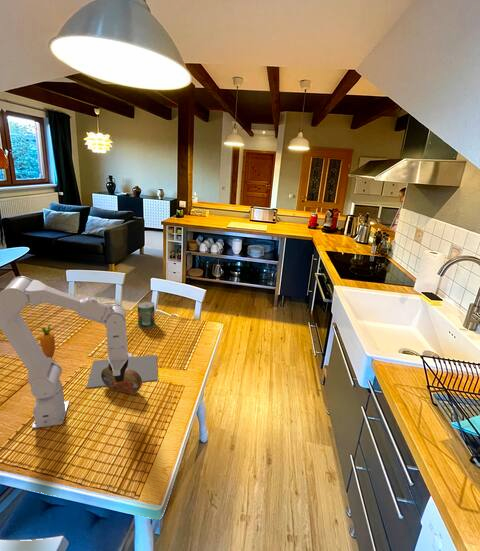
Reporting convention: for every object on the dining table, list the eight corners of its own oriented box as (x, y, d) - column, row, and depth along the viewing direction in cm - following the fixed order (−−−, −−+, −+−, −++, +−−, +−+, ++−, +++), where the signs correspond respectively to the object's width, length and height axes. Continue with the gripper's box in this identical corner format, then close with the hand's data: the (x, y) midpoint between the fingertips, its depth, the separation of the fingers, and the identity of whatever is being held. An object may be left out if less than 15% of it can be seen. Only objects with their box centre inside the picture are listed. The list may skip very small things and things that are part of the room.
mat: (157, 380, 114) (157, 379, 114) (86, 388, 108) (86, 387, 107) (156, 355, 129) (156, 354, 129) (93, 361, 122) (93, 360, 122)
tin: (101, 385, 109) (99, 365, 106) (107, 379, 112) (105, 360, 109) (138, 397, 105) (137, 377, 102) (143, 391, 108) (143, 371, 105)
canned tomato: (135, 323, 152) (134, 303, 148) (150, 319, 157) (149, 299, 153) (142, 330, 147) (141, 309, 143) (157, 325, 152) (157, 305, 148)
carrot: (54, 354, 124) (49, 320, 119) (59, 359, 121) (55, 325, 116) (40, 359, 121) (35, 325, 116) (46, 364, 118) (40, 330, 113)
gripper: (129, 356, 90) (132, 394, 95) (132, 331, 103) (133, 365, 108) (103, 358, 88) (107, 397, 93) (109, 332, 101) (112, 367, 106)
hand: (119, 380), depth 100 cm, fingers closed
